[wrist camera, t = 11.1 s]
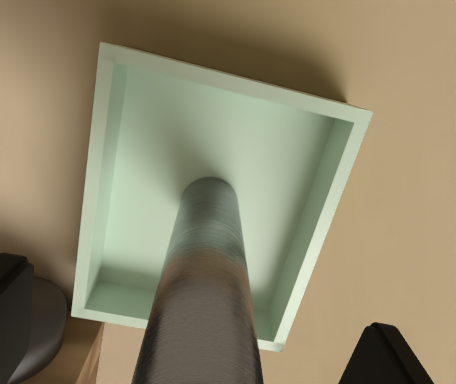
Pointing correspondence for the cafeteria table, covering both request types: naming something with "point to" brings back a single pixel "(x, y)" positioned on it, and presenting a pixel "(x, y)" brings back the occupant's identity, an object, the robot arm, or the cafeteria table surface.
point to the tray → (206, 167)
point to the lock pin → (202, 298)
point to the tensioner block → (58, 342)
